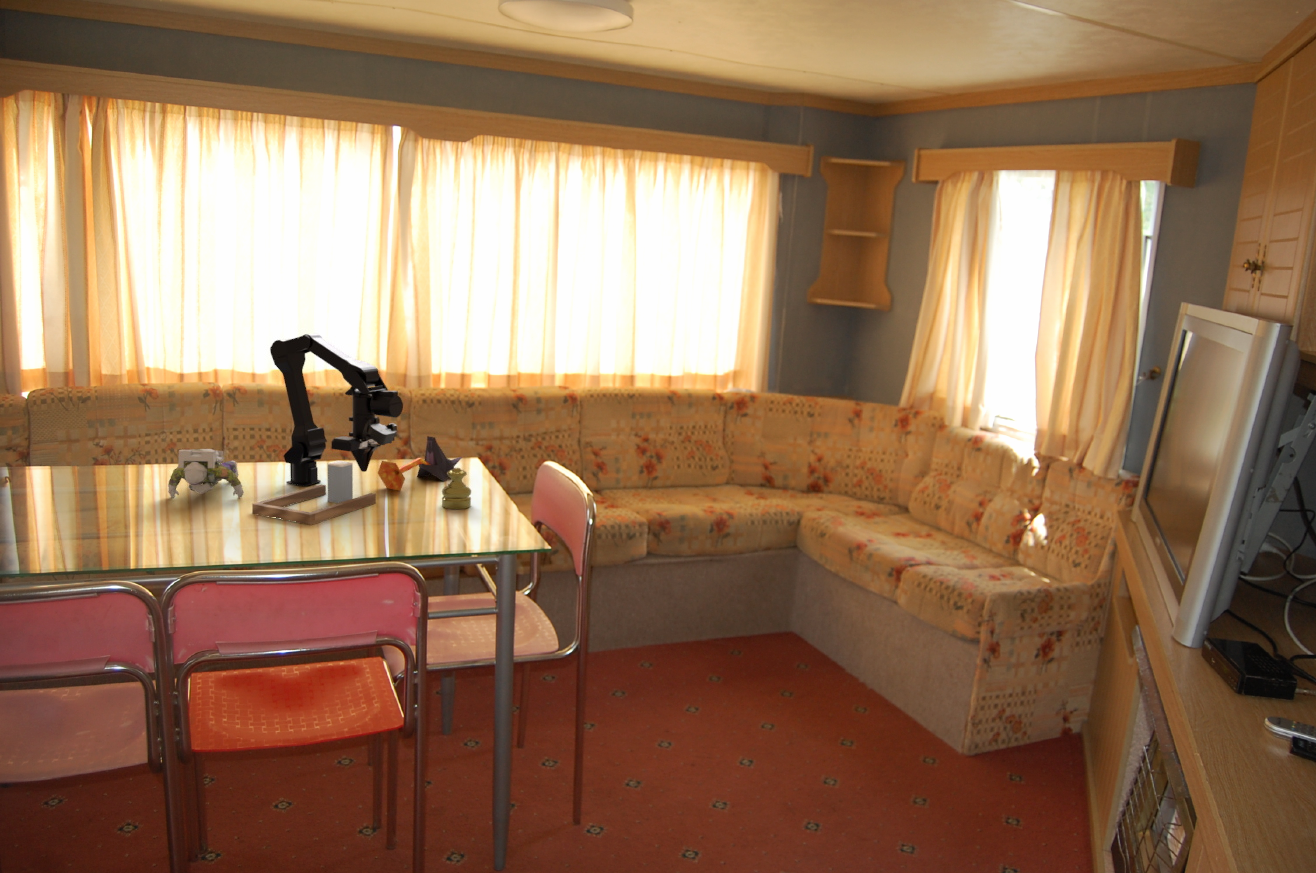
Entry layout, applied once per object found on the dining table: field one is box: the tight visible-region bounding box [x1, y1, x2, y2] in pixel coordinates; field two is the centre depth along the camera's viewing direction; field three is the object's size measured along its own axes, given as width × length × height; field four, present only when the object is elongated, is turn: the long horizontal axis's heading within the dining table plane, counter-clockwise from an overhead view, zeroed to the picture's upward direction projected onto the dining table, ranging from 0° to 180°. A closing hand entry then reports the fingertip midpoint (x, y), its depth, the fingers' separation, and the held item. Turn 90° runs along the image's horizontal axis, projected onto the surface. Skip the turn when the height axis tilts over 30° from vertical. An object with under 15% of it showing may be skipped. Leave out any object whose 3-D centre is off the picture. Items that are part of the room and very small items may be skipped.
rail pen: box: [251, 484, 377, 526], centre depth 228 cm, size 18×24×2 cm
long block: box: [327, 460, 354, 504], centre depth 235 cm, size 4×4×10 cm
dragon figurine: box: [377, 435, 462, 491], centre depth 260 cm, size 10×12×25 cm
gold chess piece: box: [441, 467, 472, 510], centre depth 237 cm, size 7×7×10 cm
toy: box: [167, 448, 245, 500], centre depth 234 cm, size 18×12×30 cm
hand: (363, 471), depth 244 cm, fingers closed
